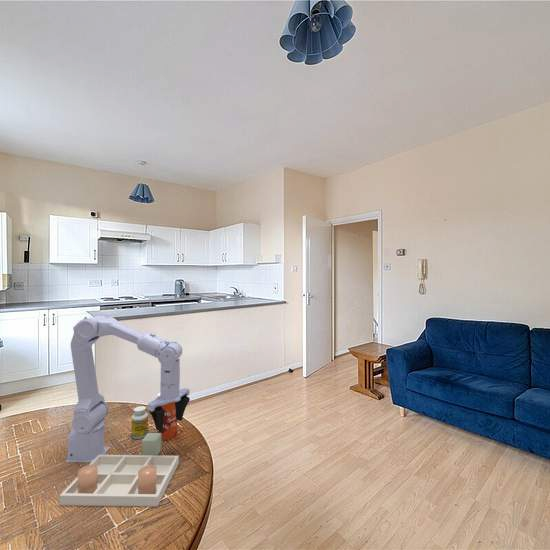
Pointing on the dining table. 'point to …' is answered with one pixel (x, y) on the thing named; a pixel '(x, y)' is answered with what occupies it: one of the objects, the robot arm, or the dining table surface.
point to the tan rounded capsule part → (147, 480)
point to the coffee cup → (169, 421)
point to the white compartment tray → (122, 481)
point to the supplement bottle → (139, 422)
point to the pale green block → (151, 444)
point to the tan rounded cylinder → (88, 479)
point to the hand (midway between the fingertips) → (169, 424)
